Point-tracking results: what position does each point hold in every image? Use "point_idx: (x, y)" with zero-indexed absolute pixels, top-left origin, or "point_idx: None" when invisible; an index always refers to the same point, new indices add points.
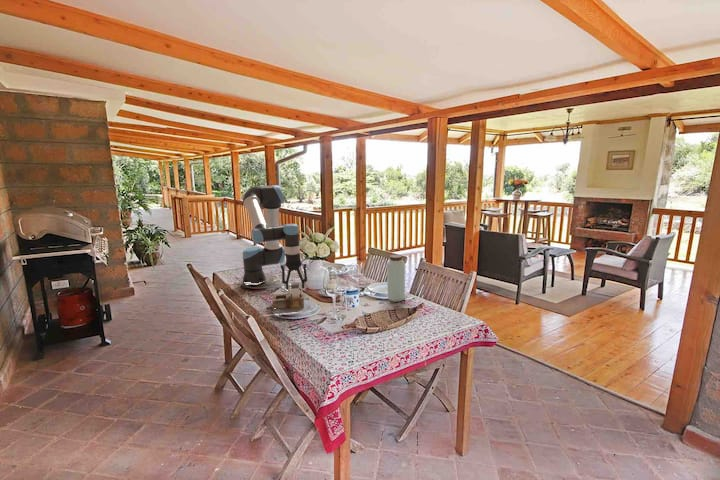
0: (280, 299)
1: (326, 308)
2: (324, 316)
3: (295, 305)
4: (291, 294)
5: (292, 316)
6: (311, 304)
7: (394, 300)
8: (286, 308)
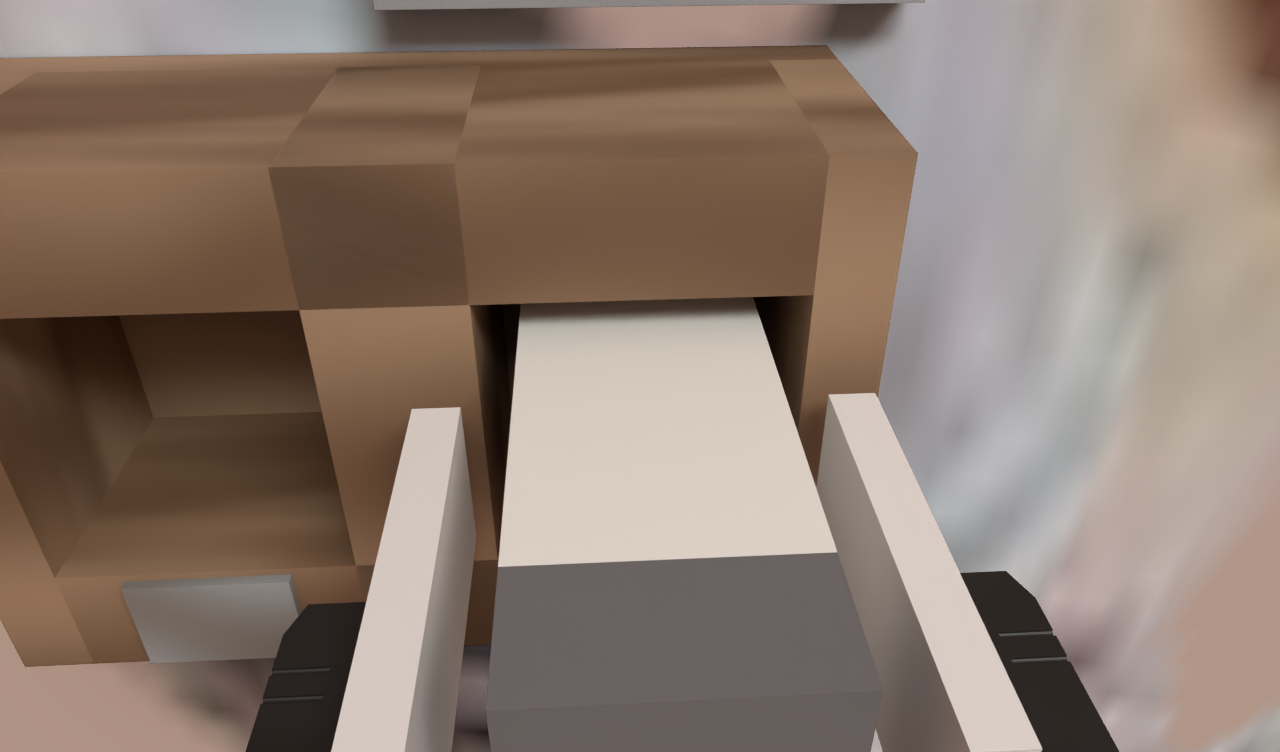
0: (219, 625)
1: (1214, 477)
2: None
3: None
4: (484, 293)
5: None
6: (985, 231)
7: None
8: None
